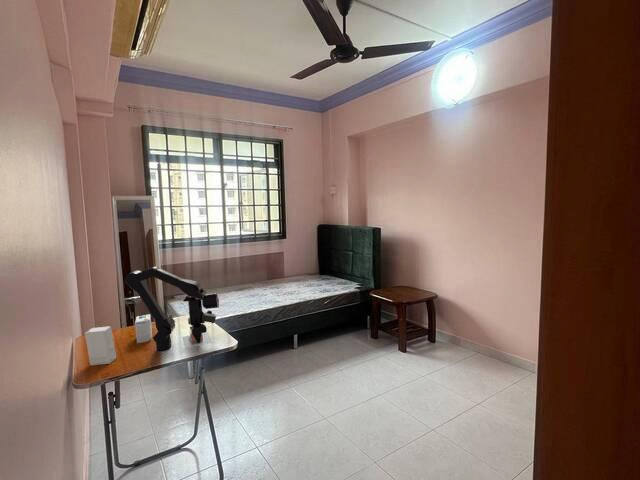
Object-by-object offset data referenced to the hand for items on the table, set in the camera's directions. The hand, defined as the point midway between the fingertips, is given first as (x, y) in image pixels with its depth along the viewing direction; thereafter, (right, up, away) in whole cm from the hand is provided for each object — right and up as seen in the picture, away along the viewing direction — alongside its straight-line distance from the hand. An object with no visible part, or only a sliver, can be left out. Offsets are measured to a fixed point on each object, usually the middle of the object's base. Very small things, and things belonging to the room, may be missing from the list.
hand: (198, 342), depth 156 cm
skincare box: (-37, -5, -10) cm, 39 cm away
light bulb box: (-32, -3, +15) cm, 36 cm away
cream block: (-3, +1, +5) cm, 6 cm away
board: (-6, -1, +12) cm, 13 cm away
